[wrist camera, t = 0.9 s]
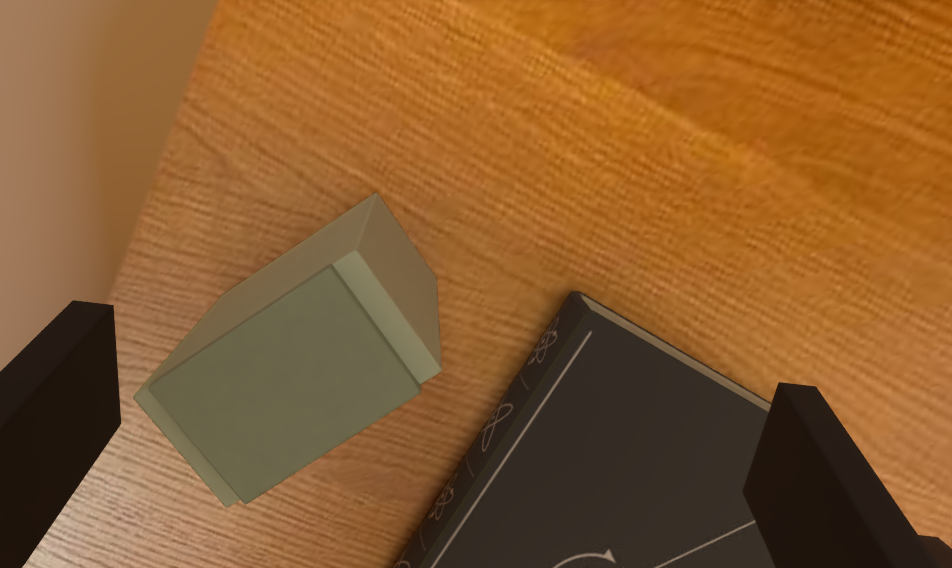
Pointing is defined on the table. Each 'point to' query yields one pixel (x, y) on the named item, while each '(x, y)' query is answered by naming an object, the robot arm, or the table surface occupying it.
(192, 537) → the table surface
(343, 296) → the grey-green lidded box
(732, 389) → the book
